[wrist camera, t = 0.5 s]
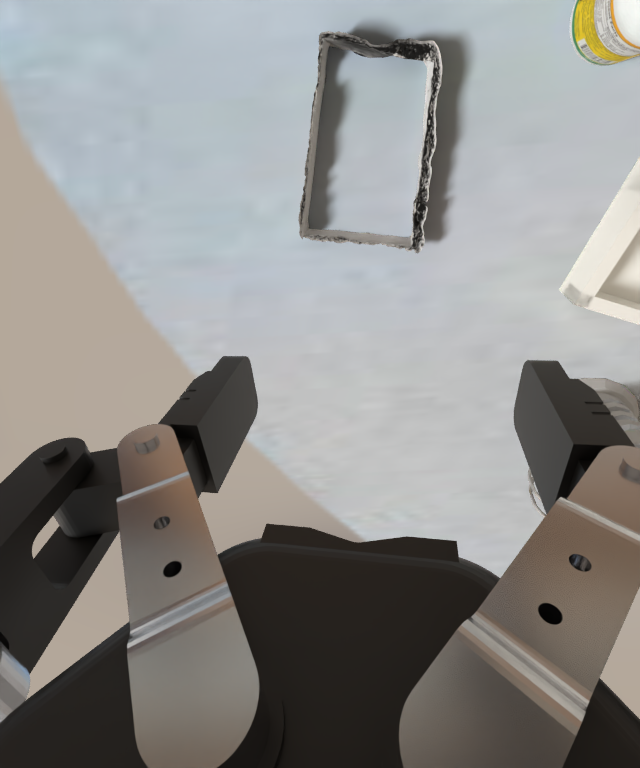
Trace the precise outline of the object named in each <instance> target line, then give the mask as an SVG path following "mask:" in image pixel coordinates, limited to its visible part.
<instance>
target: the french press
mask: <svg viewBox="0 0 640 768" xmlns="http://www.w3.org/2000/svg"><path fill="white" fill-rule="evenodd" d="M579 380H581V381H582V382H584V383H585V384H587V385H588V386H590V387H591V388H593V389H594V390H595V391H596V392H597V394H598V395H599V397H600V398H601V399H602V401H603V405H606V406H607V408H608V409H609V411H610V412H611V415H613V416H614V418H615V419H616V420H617V422H618V423H619V425H620V426H621V427H622V429H623V430H624V432H625V433H626V434H627V436H628V437H629V439H630V440H631V441H632V443H633V444H634V446H635V447H637V448H640V421H639V420H638V418H639V415H640V413H639V407H638V402H637V398H636V397H635V396H634V395H633V394H632V393H631V392H630V391H629V390H628V389H627V387H626V386H624V385H622V384H619V383H616V382H613V381H611V380H608V379H597V378H582V379H579ZM531 474H532V473H531V470H530V468H529V471H528V481H529V483H530V485H529V493H530V497H531V500H532V504H533V506H534V507H535V509H536V510H537V511H538V513H539V514H540V515H542V516H543V517H544V518H545V516H546V514H544V513H543V512H542V511H541V510H540V509H539V508H538V506H537V505H536V502H535V499H534V497H533V494H532V491H533V493H534V494H535V495H536V496H537V498H538V499H539V500H541V498H540V495H539V494H538V493H537V492H536V490H535V487H534V484H533V483H534V478H533V477H532V478H531ZM541 501H542V500H541Z"/></svg>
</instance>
